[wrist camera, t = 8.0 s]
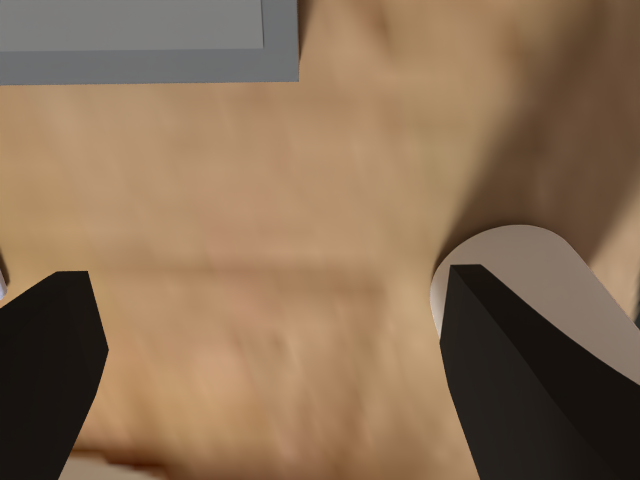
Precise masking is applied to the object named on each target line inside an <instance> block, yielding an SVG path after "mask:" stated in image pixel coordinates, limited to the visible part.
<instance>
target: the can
mask: <svg viewBox="0 0 640 480" xmlns="http://www.w3.org/2000/svg"><path fill="white" fill-rule="evenodd" d="M457 264H481V265H482V266H484V267H485V268H486V269H488V270H489V271H490V272H491V273H492V274H493V275H495V276H496V277H497V278H498V279H499V280H500V281H502V282H503V283H504V284H505V285H506V286H507V287H509V288H510V289H511V290H512V291H513V292H514V293H516V294H517V295H518V296H519V297H520V298H521V299H523V300H524V301H525V302H526V303H527V304H528V305H530V306H531V307H532V308H533V309H534V310H536V311H537V312H538V313H539V314H541V315H542V316H543V317H544V318H545V319H547V320H548V321H549V322H550V323H552V324H553V325H554V326H555V327H557V328H558V329H559V330H561V331H562V332H563V333H565V334H566V335H567V336H568V337H570V338H571V339H572V340H574V341H575V342H577V343H578V344H579V345H581V346H582V347H583V348H585V349H586V350H588V351H589V352H590V353H592V354H593V355H594V356H596V357H597V358H599V359H600V360H601V361H603V362H604V363H606V364H607V365H609V366H610V367H612V368H613V369H615V370H616V371H618V372H620V373H621V374H623V375H624V376H626V377H628V378H629V379H631V380H632V381H634V382H636V383H637V384H639V385H640V330H639V329H638V328H637V327H636V325H635V324H634V323H633V322H632V320H631V319H630V318H629V317H628V315H627V314H626V313H625V312H624V310H623V309H622V308H621V307H620V305H619V304H618V303H617V302H616V300H615V299H614V298H613V297H612V295H611V294H610V293H609V292H608V290H607V289H606V288H605V287H604V285H603V284H602V283H601V282H600V281H599V279H598V278H597V277H596V276H595V274H594V273H593V272H592V271H591V269H590V268H589V267H588V266H587V264H586V263H585V262H584V261H583V260H582V258H581V257H580V256H579V255H578V253H577V252H576V251H575V250H574V249H573V248H572V247H571V245H570V244H569V243H568V242H567V241H565V240H564V239H563V238H562V237H560V236H559V235H557V234H556V233H554V232H552V231H549V230H547V229H544V228H541V227H536V226H530V225H508V226H501V227H497V228H493V229H490V230H487V231H484V232H481V233H479V234H477V235H475V236H473V237H471V238H469V239H467V240H466V241H464V242H463V243H461V244H460V245H459V246H457V247H456V248H455V249H454V250H453V251H452V252H451V253H450V254H449V255H448V256H447V257H446V258H445V259H444V260H443V262H442V263H441V264H440V265H439V267H438V268H437V270H436V272H435V274H434V277H433V280H432V283H431V289H430V304H431V310H432V314H433V318H434V322H435V325H436V328H437V332H438V335H439V338H440V336H441V328H442V321H443V314H444V306H445V299H446V292H447V284H448V277H449V270H450V265H457Z"/></svg>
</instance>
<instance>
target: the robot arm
mask: <svg viewBox="0 0 640 480" xmlns="http://www.w3.org/2000/svg"><path fill="white" fill-rule="evenodd" d="M6 293H7V287H6V284H5V281H4V278H3V276H2V273H1V270H0V300H1V299H3V297H4V296H5V295H6ZM440 349H441V354H442V359H443V364H444V369H445V374H446V378H447V383H448V387H449V390H450V393H451V397H452V400H453V402H454V405H455V408H456V411H457V414H458V417H459V420H460V423H461V426H462V429H463V432H464V434H465V437H466V440H467V443H468V446H469V449H470V452H471V455H472V457H473V460H474V463H475V466H476V469H477V472H478V475H479V477H480V480H640V385H639V384H637V383H636V382H634V381H632V380H631V379H629V378H628V377H626V376H624V375H623V374H621V373H620V372H618V371H616V370H615V369H613V368H612V367H610V366H609V365H607V364H606V363H604V362H603V361H601V360H600V359H599V358H597V357H596V356H594V355H593V354H592V353H590V352H589V351H588V350H586V349H585V348H583V347H582V346H581V345H579V344H578V343H577V342H575V341H574V340H572V339H571V338H570V337H568V336H567V335H566V334H565V333H563V332H562V331H561V330H559V329H558V328H557V327H555V326H554V325H553V324H552V323H550V322H549V321H548V320H547V319H545V318H544V317H543V316H542V315H541V314H539V313H538V312H537V311H536V310H534V309H533V308H532V307H531V306H530V305H528V304H527V303H526V302H525V301H524V300H523V299H521V298H520V297H519V296H518V295H517V294H516V293H514V292H513V291H512V290H511V289H510V288H509V287H507V286H506V285H505V284H504V283H503V282H502V281H500V280H499V279H498V278H497V277H496V276H495V275H493V274H492V273H491V272H490V271H489V270H488V269H486V268H485V267H484V266H482V265H481V264H457V265H450V270H449V277H448V284H447V292H446V299H445V306H444V314H443V321H442V328H441V336H440ZM108 351H109V349H108V345H107V341H106V337H105V334H104V330H103V326H102V322H101V319H100V315H99V311H98V308H97V304H96V300H95V296H94V293H93V289H92V285H91V282H90V278H89V274H88V271H57V272H55V273H53V274H52V275H50V276H48V277H46V278H45V279H43V280H42V281H40V282H39V283H37V284H36V285H34V286H33V287H31V288H30V289H28V290H27V291H25V292H24V293H22V294H21V295H19V296H18V297H16V298H15V299H13V300H12V301H11V302H9V303H8V304H6V305H5V306H3V307H2V308H0V480H58V478H59V476H60V474H61V472H62V470H63V467H64V465H65V463H66V461H67V459H68V457H69V454H70V452H71V450H72V448H73V446H74V443H75V441H76V439H77V437H78V434H79V432H80V430H81V428H82V426H83V423H84V421H85V419H86V416H87V414H88V412H89V410H90V407H91V405H92V403H93V400H94V398H95V396H96V393H97V390H98V386H99V383H100V380H101V376H102V373H103V369H104V366H105V362H106V358H107V355H108Z"/></svg>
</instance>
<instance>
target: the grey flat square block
mask: <svg viewBox="0 0 640 480" xmlns="http://www.w3.org/2000/svg"><path fill="white" fill-rule="evenodd" d="M299 65H300V57H299V18H298V0H0V85H68V84H146V83H225V82H299Z"/></svg>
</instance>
